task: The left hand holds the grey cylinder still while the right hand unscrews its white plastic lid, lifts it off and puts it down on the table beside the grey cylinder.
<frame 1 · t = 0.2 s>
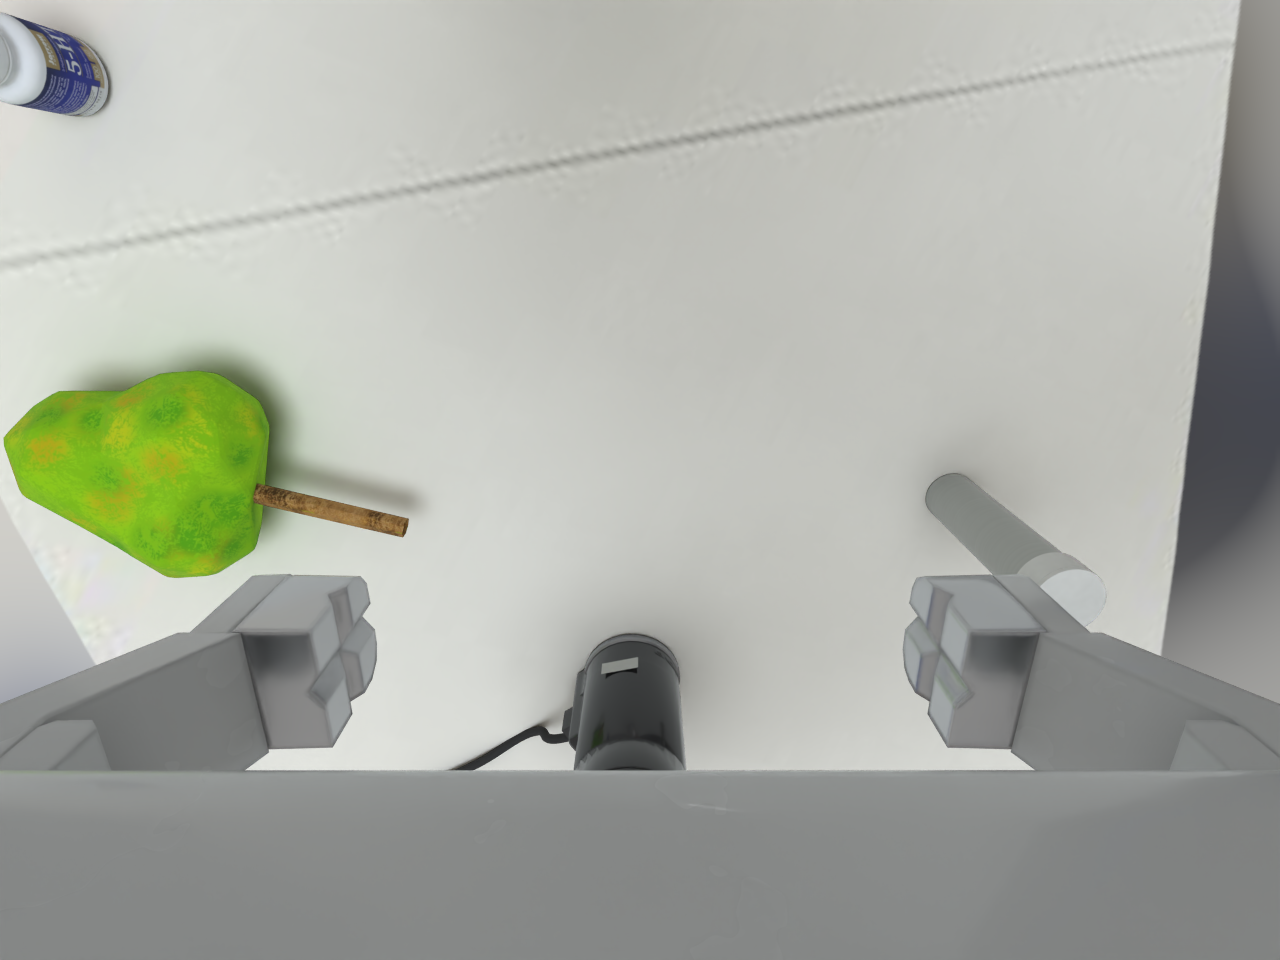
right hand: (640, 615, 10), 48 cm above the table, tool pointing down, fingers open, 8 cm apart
decorative tree: (253, 461, 60), on the table
grey cylinder: (949, 495, 61), on the table
lid: (1065, 599, 45), point 18 cm above the table, screwed on, not yet turned
pill bottle: (75, 76, 50), on the table
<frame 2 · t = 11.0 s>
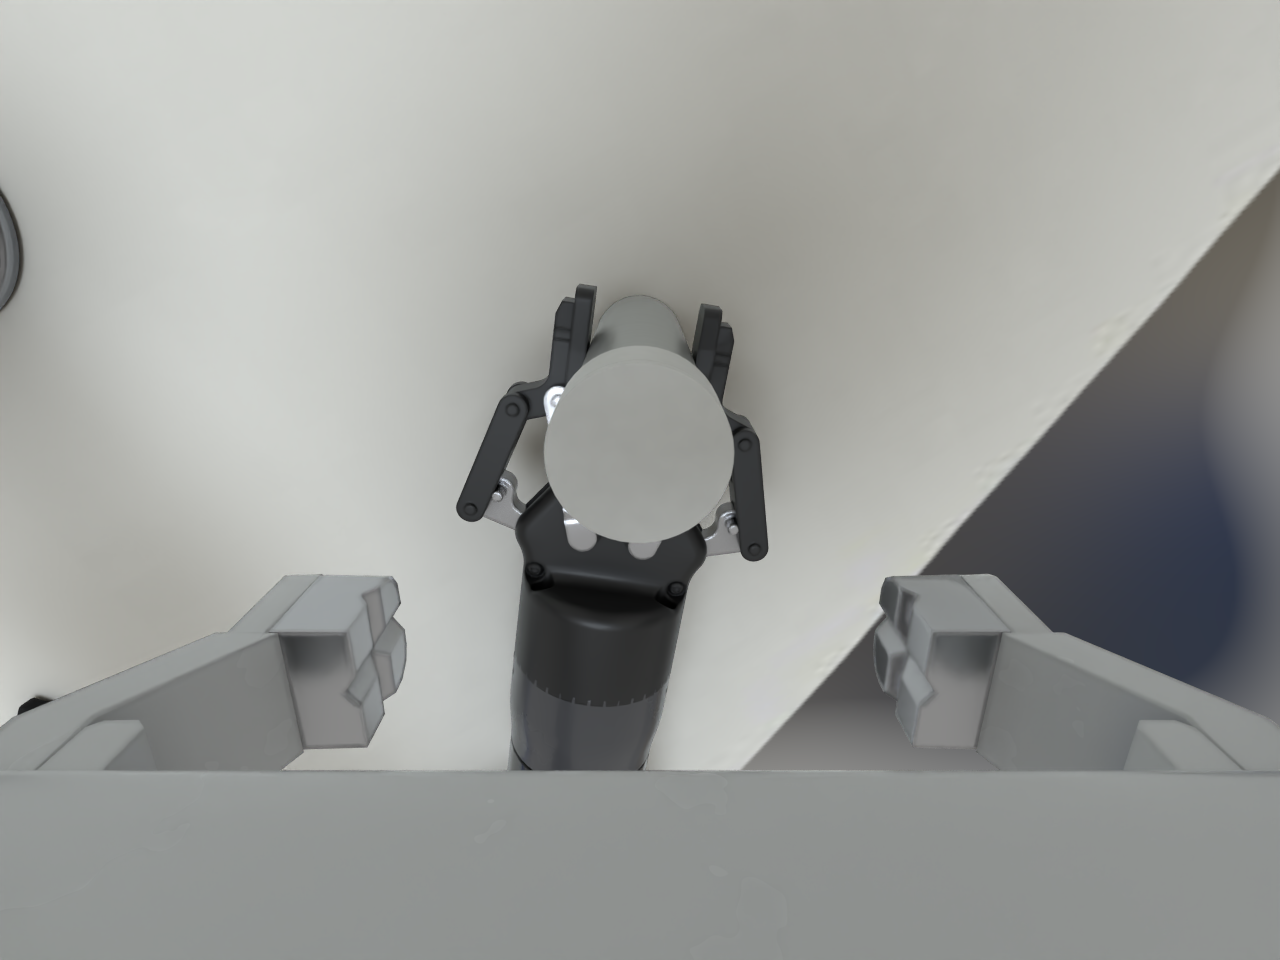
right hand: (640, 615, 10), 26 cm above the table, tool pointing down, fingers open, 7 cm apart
left hand: (648, 298, 27), fingers closed on grey cylinder, 4 cm apart
grey cylinder: (638, 339, 34), on the table, touching left hand
lid: (639, 453, 17), point 18 cm above the table, screwed on, not yet turned
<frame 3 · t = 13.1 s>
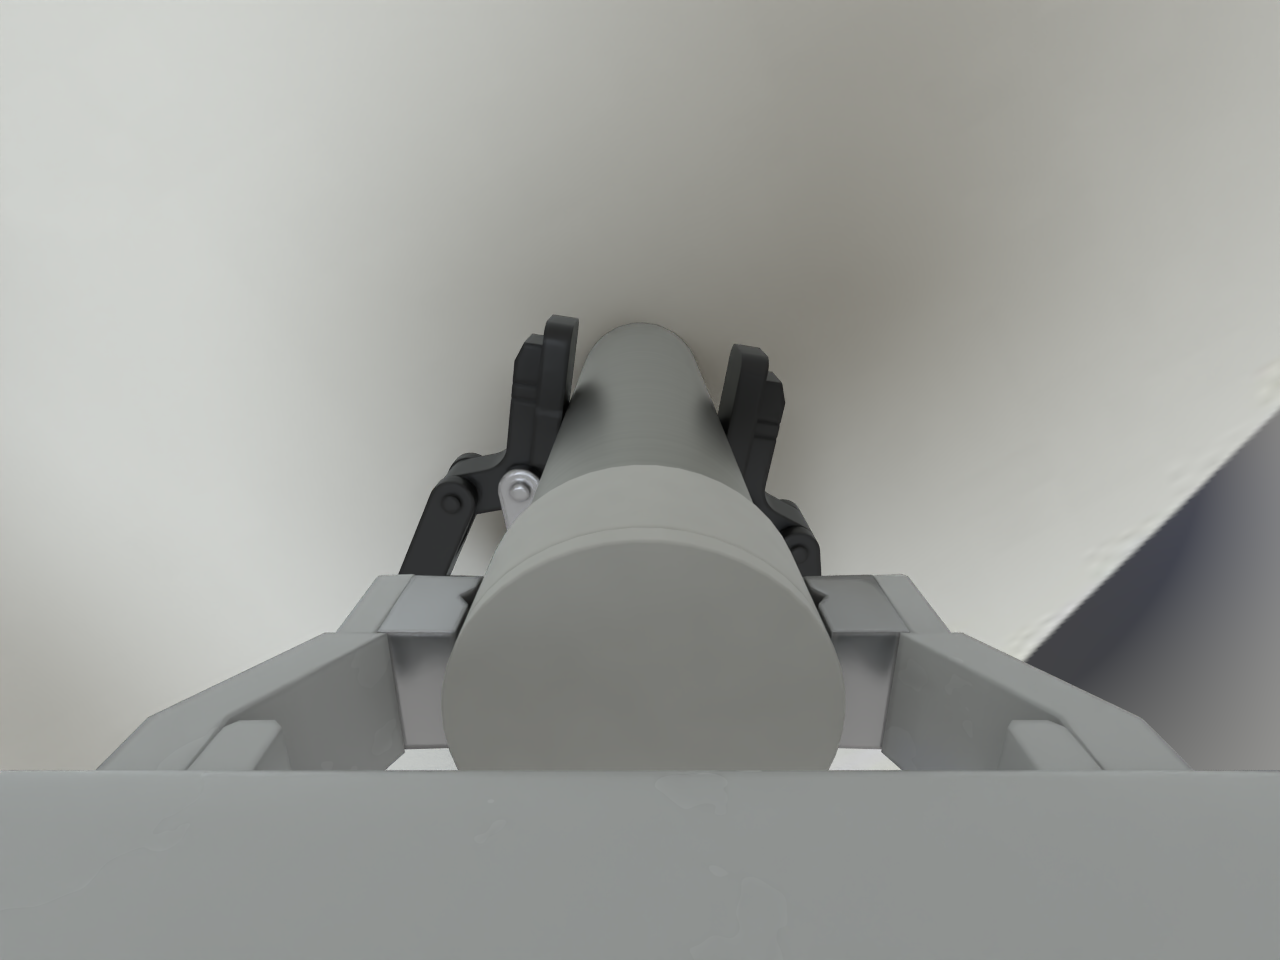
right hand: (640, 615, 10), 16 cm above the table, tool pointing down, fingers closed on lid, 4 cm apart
grey cylinder: (640, 382, 25), on the table, touching left hand
lid: (643, 703, 8), point 18 cm above the table, screwed on, not yet turned, touching right hand
when the right hand's fingers open (2 cm above the table, at t = 31.2 s): lid drops 2 cm, point 2 cm above the table.
when the left hand's fingers open (7 cm above the table, at t = 32.3 s): grey cylinder stays where it is, on the table.
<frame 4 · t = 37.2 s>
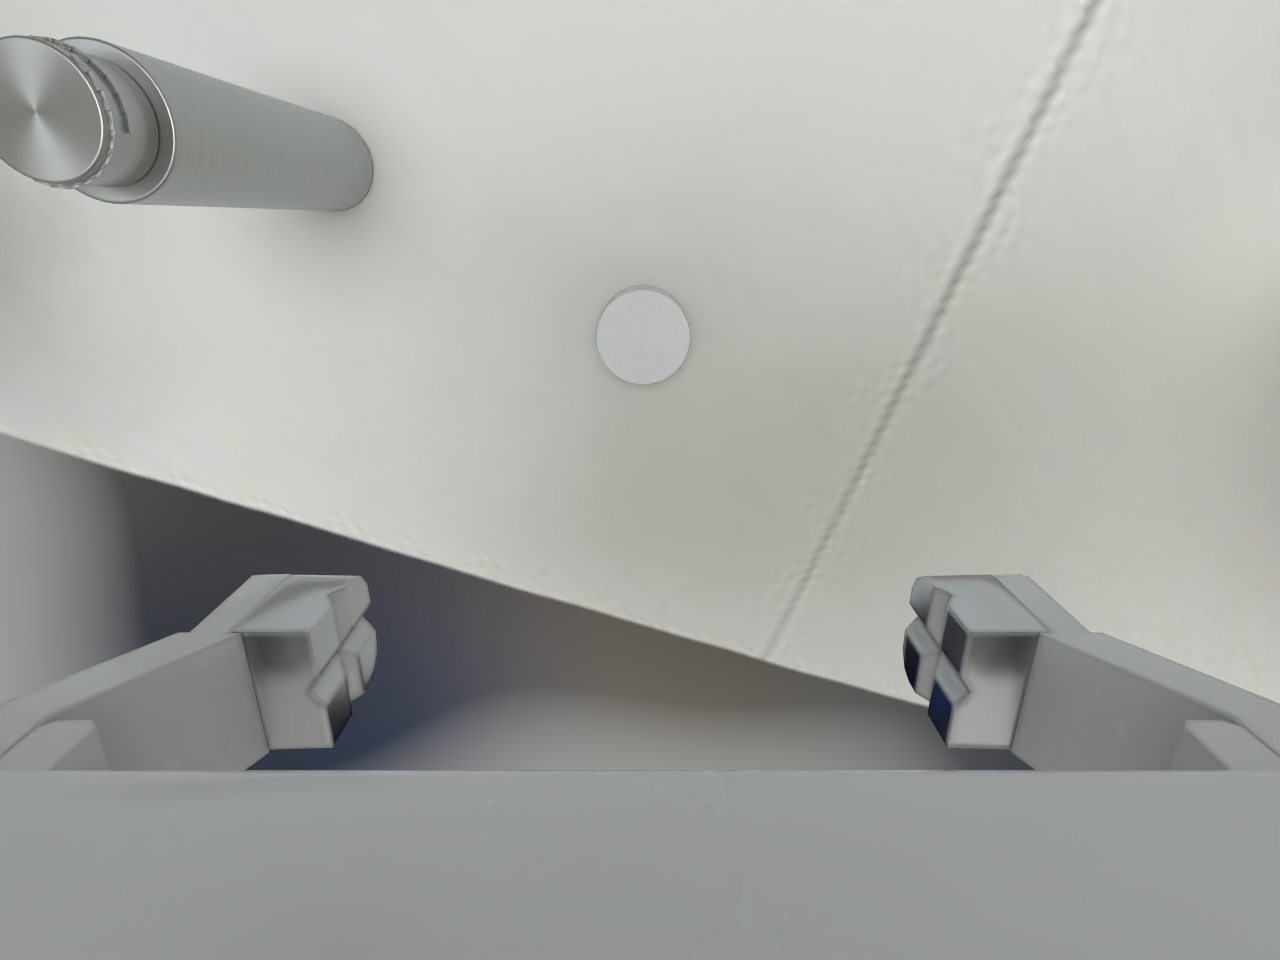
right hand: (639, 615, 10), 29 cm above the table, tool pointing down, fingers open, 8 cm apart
grey cylinder: (330, 164, 34), on the table
lid: (643, 337, 35), point 2 cm above the table, off its thread
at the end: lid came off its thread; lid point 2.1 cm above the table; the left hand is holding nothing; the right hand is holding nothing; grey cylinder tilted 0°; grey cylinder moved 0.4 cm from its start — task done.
